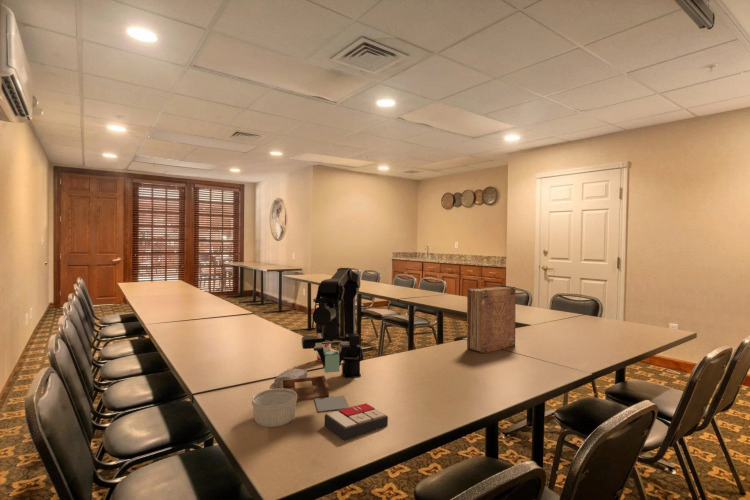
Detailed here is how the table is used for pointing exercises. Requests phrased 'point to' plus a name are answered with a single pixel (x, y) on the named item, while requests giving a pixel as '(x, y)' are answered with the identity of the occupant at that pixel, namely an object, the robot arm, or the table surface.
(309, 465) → the table surface
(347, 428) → the calculator
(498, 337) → the book
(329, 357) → the teal block
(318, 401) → the pad
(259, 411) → the ramekin
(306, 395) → the caddy
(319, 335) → the beer can
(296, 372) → the stone block
